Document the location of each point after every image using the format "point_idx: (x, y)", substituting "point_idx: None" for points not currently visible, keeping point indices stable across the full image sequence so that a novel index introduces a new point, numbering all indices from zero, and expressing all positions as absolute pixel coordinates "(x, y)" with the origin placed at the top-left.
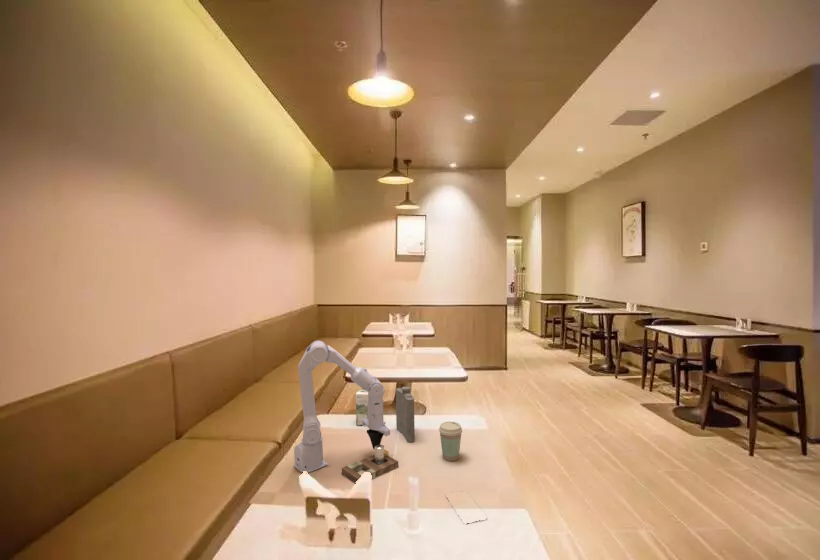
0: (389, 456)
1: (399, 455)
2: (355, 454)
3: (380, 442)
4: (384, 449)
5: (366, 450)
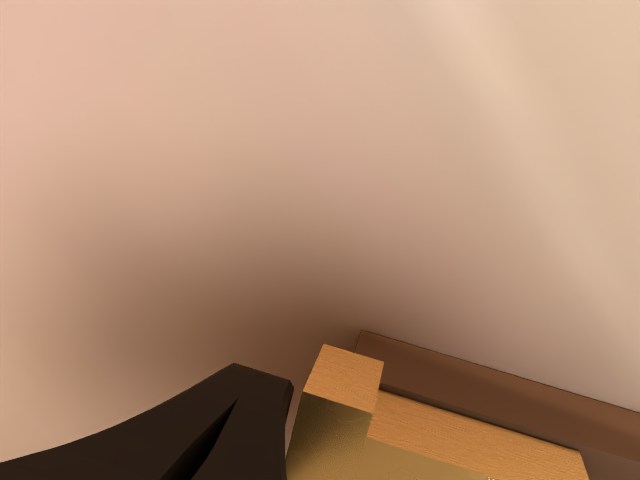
0: (611, 455)
1: (628, 119)
2: (20, 425)
3: (284, 453)
4: (466, 469)
5: (41, 265)
